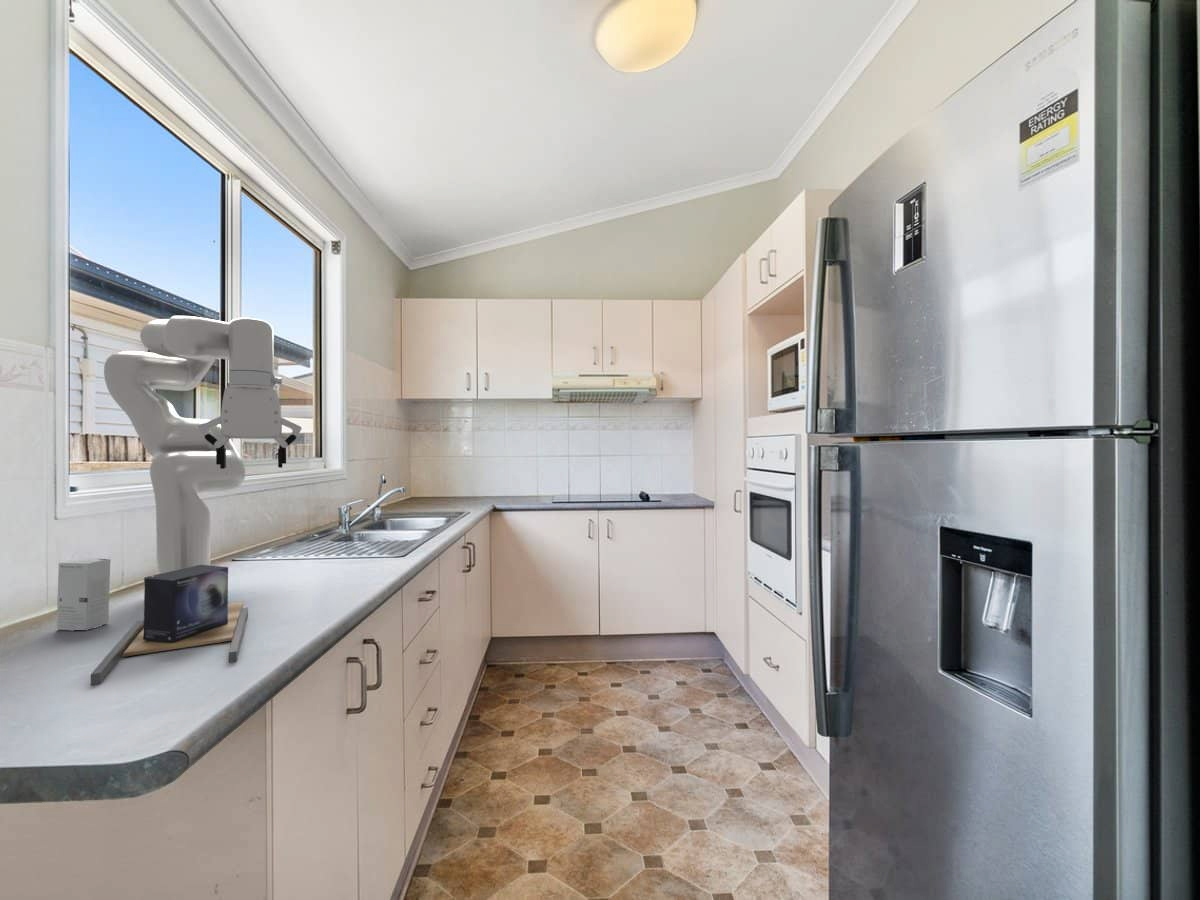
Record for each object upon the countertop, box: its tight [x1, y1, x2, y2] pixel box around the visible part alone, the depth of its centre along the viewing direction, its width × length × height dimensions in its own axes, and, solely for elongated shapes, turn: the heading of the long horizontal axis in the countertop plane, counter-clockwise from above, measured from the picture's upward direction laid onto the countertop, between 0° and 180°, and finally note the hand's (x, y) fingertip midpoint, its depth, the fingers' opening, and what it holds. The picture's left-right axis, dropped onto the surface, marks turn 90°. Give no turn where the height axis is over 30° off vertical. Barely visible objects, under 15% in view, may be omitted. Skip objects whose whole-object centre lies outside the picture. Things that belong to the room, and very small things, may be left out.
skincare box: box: [56, 557, 111, 631], centre depth 98 cm, size 6×4×12 cm
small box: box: [143, 564, 229, 643], centre depth 93 cm, size 11×6×10 cm, turn 169°
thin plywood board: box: [122, 601, 244, 658], centre depth 98 cm, size 24×14×6 cm, turn 30°
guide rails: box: [90, 607, 249, 686], centre depth 90 cm, size 26×17×2 cm, turn 30°
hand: (252, 467), depth 109 cm, fingers open, 9 cm apart
